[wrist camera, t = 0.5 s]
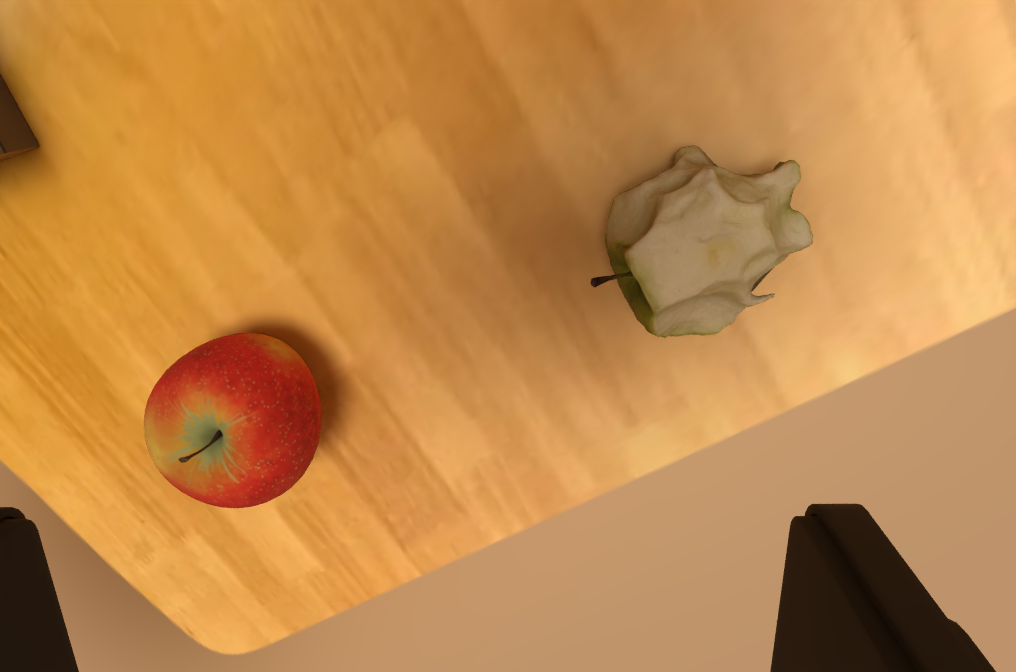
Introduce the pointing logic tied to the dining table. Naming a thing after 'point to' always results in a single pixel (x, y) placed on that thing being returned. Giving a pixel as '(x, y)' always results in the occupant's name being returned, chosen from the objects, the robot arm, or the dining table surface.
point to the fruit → (701, 242)
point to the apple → (234, 420)
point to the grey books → (13, 127)
